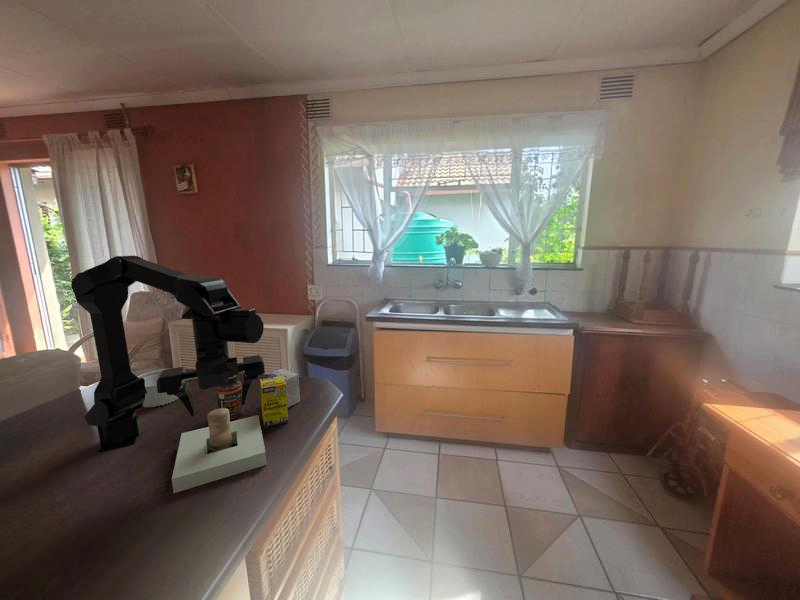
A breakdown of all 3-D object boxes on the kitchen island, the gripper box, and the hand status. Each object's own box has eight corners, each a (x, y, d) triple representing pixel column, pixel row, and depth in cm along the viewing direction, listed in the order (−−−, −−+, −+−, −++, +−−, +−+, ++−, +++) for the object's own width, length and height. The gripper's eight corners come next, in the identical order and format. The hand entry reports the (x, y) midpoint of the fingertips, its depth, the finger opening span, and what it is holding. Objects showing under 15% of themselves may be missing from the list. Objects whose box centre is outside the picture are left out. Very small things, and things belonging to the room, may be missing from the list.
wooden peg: (211, 463, 66) (206, 420, 64) (212, 452, 69) (207, 410, 68) (233, 457, 68) (229, 415, 66) (233, 446, 71) (229, 406, 70)
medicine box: (300, 401, 92) (299, 374, 90) (287, 408, 88) (286, 379, 86) (283, 394, 96) (281, 368, 94) (270, 400, 92) (268, 373, 91)
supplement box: (264, 428, 78) (260, 388, 76) (262, 417, 83) (259, 378, 81) (288, 422, 81) (286, 383, 79) (285, 411, 86) (283, 374, 84)
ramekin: (178, 384, 102) (175, 364, 101) (196, 396, 94) (193, 374, 93) (126, 401, 91) (122, 378, 90) (141, 415, 84) (137, 391, 83)
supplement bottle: (225, 424, 80) (221, 382, 78) (214, 416, 84) (210, 376, 82) (248, 414, 85) (244, 375, 83) (237, 407, 88) (234, 369, 86)
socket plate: (173, 493, 58) (171, 479, 58) (183, 445, 72) (181, 433, 71) (266, 464, 66) (265, 452, 65) (259, 425, 79) (258, 415, 79)
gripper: (145, 360, 53) (157, 444, 55) (264, 344, 61) (270, 416, 64) (157, 342, 62) (167, 414, 65) (259, 330, 71) (264, 393, 74)
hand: (218, 409), depth 67 cm, fingers open, 9 cm apart
